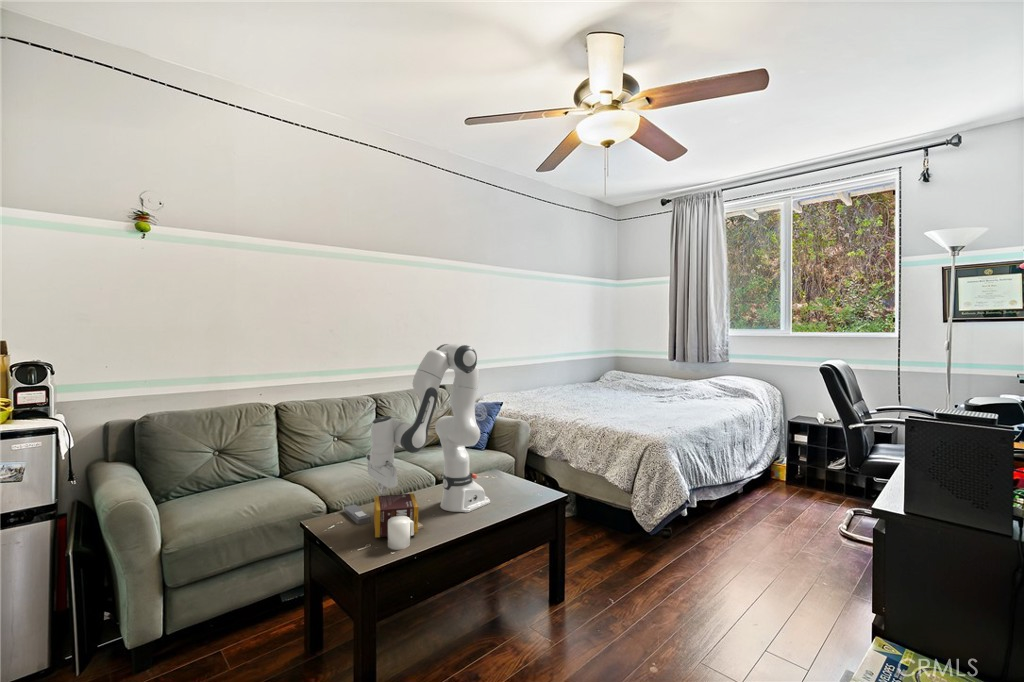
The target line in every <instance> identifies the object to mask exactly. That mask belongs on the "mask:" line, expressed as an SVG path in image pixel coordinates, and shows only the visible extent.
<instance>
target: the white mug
mask: <svg viewBox="0 0 1024 682" xmlns="http://www.w3.org/2000/svg"><path fill="white" fill-rule="evenodd" d="M414 535H415V533H414V522H413V521H412V520H410V518H409V517H407V516H395V517H392V518H390V519H389V520H388V536H387V547H388V549H390V550H393V551H394V550H395V551H400V550H405V549H407V548H408V547H410V545H411V537H412V536H414Z"/></svg>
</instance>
